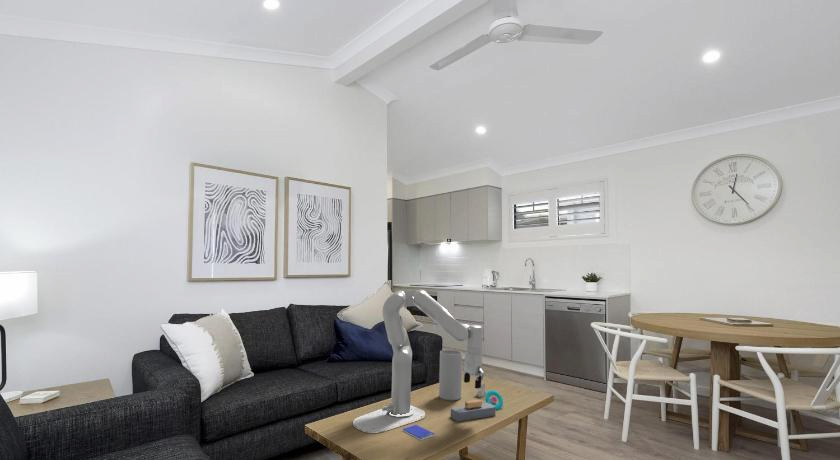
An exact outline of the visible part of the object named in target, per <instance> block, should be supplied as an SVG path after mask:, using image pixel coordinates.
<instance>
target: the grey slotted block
mask: <svg viewBox="0 0 840 460" xmlns="http://www.w3.org/2000/svg"><path fill="white" fill-rule="evenodd" d="M496 411H497V410H496V407H495V406H493V405H491V404H489V403H486V402H484V403H483V402H482V406H481V407H480V408H478V409H477V408H472V410H468V409H466V407H465V405H462V406H456V407H451V408H450V417H451V418H452V419H454V420H456V421H457V422H458V423H459V422H463V421H470V420H474V419H475V420H476V419H480V418H481V419H482V418H486V417H493V416H496V415H497V414H496Z"/></svg>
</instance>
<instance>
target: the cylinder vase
mask: <svg viewBox="0 0 840 460" xmlns="http://www.w3.org/2000/svg"><path fill="white" fill-rule="evenodd" d="M462 374H463V352H462V351H460V350H457V349H456V350H455V349H441V350H440V351H439V375H438V376H439V379H438V380H439V381H438V383H439V385H438V397H439V398H440V399H442V400H444V401H458V400H460V399H461V398H462V381H463V380H462V378H463V375H462Z"/></svg>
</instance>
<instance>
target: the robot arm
mask: <svg viewBox="0 0 840 460" xmlns="http://www.w3.org/2000/svg"><path fill="white" fill-rule="evenodd" d="M403 307H417V308H418V310H420V311H421V312H423V313H424V314H425V315H426V316H427V317H428V318H430V319H431V320H432V321H433V322H434V323H435V324H437V325H438V326H439V327H440V328H442V329H443V330H444V331H445V332H446V333H448V334H449V335H450V336H451V337H452V338H453V339H455V340H456V341H458V342H465V341H466V352H465V354H464V360H463V363H462V371H463V374H464V377H463V383H464V384H465V383H467V384H468V383H471V376H475V380H474V388H475V389H478V388H481V383H482V381H483V378H484V376H485V372H484V370H483V355H482V351H483V334H484V333H483V332H484V330H483V329H484V328H483V327H482V326H481V325H479V324H478V325H477V324H466V323H462V322H459V321H458V319H456V318H455V317H453V316H452V315H451V314H450V313H449V312H448V310H447V309H446V308H445V307H444V306H443V305H442V304H440V303H439V301H437V300H435V299H434V298H433V297H432V296H431V295H430V294H429V293H428V292H427V291H426V290H425V289H409V290H407V289H406V290H396V291H395V292H393V293H392V294H390V296H389V297H388V298H387V299H386V300H385V302H384V303H383V306H382V317H383V322H384V326H385V332H386V335H387V340H388V343H389V344H390V345H391V348H392V351H393V355H392V362H391V369H392V370H391V374H392V375H391V400H390V401H391V402H389V404H388V405H387V406H385V405H384V406H381V411H382V412H384V411H386V412H387V413H388V412H389V413H390V412H391V414H393V415H397V414H400V415H402V414H406V413H409V412H410V408H411V398H412V397H411V392H412V391H411V390H412V388H411V387H412V360H413V350H412V346H411V342H410V339H409V335H408V333H407V331H408V330H406V328H405V327H404V326H403V323H402V318H401V315H400V310H401V309H402V308H403ZM411 410H413V409H412V408H411Z"/></svg>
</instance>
